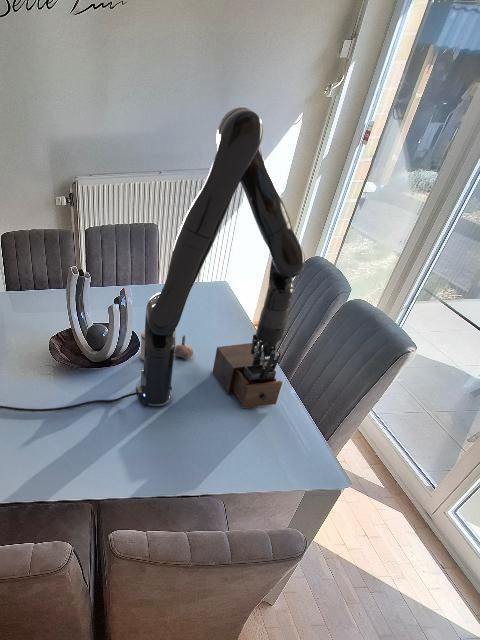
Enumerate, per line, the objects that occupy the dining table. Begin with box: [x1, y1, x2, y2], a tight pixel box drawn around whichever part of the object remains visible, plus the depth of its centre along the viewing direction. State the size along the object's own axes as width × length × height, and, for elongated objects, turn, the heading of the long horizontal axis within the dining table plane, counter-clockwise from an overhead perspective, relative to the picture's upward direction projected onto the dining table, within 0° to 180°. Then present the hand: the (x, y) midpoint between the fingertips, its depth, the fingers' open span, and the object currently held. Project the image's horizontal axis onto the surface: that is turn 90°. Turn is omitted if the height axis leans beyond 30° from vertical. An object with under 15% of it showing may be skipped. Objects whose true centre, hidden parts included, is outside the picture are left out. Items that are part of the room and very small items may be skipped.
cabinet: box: [212, 342, 268, 395], centre depth 156 cm, size 15×13×10 cm
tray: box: [243, 364, 277, 382], centre depth 144 cm, size 8×6×2 cm
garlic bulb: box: [174, 334, 194, 360], centre depth 169 cm, size 8×7×8 cm
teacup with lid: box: [140, 329, 145, 361], centre depth 168 cm, size 12×9×12 cm
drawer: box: [231, 369, 283, 409], centre depth 148 cm, size 15×11×8 cm
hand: (258, 374), depth 144 cm, fingers closed on tray, 5 cm apart
